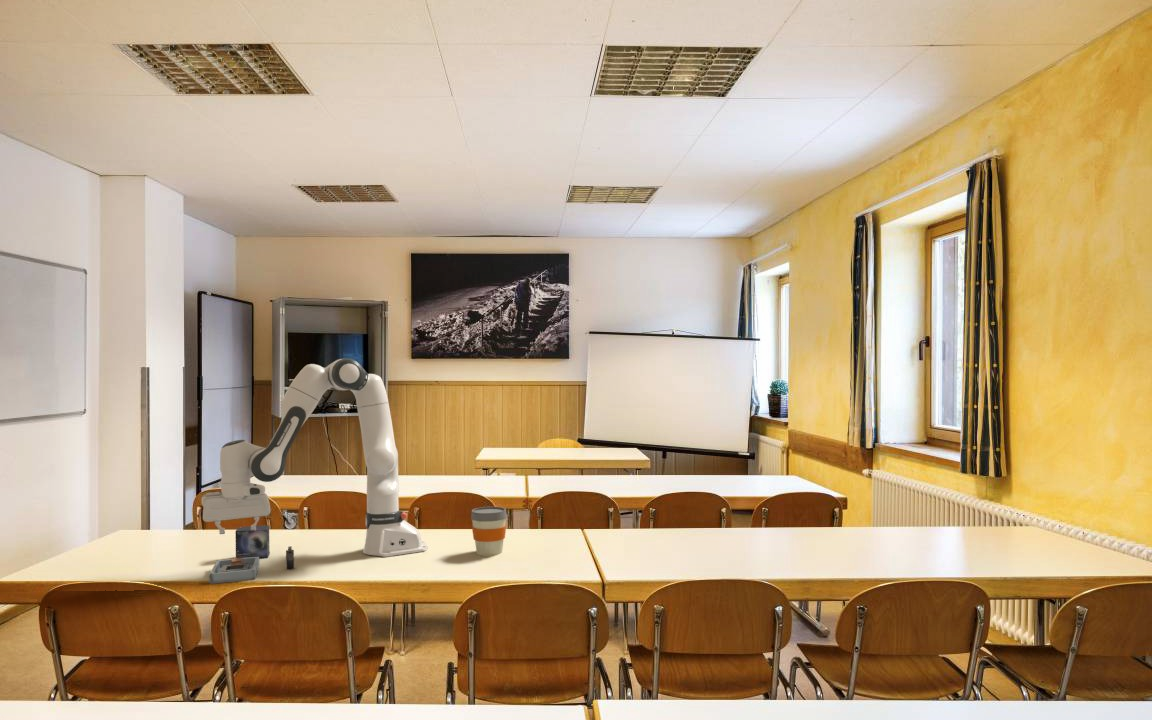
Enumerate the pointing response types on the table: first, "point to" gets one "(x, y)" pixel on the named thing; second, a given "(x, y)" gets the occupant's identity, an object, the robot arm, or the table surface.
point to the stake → (289, 558)
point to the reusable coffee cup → (489, 529)
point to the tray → (234, 575)
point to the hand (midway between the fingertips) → (238, 532)
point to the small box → (252, 542)
